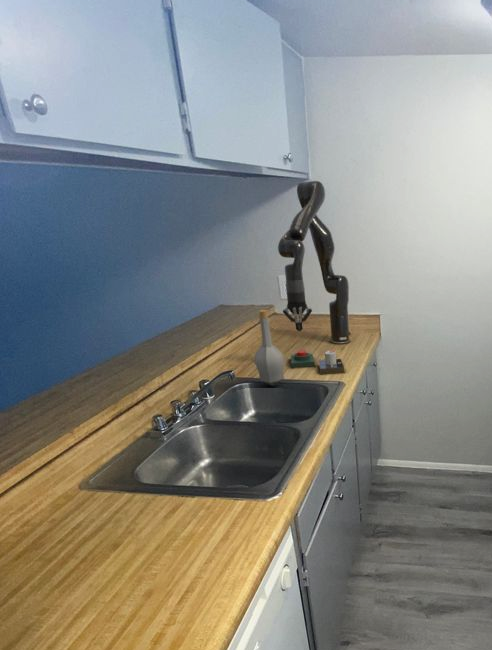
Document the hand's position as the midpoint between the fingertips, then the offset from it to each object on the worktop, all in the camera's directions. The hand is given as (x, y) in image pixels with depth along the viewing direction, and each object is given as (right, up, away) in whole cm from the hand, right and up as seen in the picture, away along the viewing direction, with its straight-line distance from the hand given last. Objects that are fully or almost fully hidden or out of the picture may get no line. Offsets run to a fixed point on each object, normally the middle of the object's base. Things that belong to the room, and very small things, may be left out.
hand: (299, 330), depth 208 cm
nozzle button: (0, -10, +5) cm, 11 cm away
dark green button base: (0, -13, +7) cm, 15 cm away
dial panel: (+14, -17, 0) cm, 22 cm away
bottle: (-6, -27, -19) cm, 34 cm away
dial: (+14, -15, -1) cm, 20 cm away
